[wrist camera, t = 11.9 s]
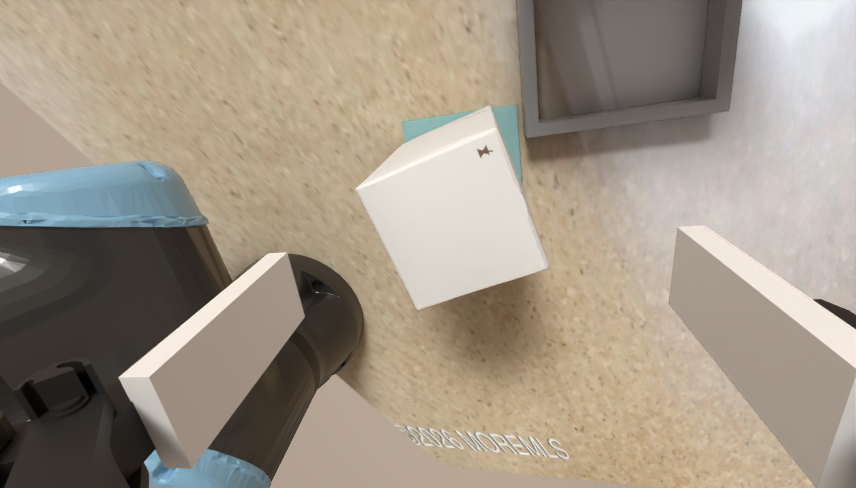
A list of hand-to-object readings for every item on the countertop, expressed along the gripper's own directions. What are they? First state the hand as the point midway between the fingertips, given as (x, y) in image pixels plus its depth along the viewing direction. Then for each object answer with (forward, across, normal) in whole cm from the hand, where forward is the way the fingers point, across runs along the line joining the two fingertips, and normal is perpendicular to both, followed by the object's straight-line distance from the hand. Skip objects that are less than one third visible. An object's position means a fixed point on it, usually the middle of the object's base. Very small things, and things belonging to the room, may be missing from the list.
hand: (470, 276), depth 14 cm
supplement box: (+24, -2, -2) cm, 24 cm away
